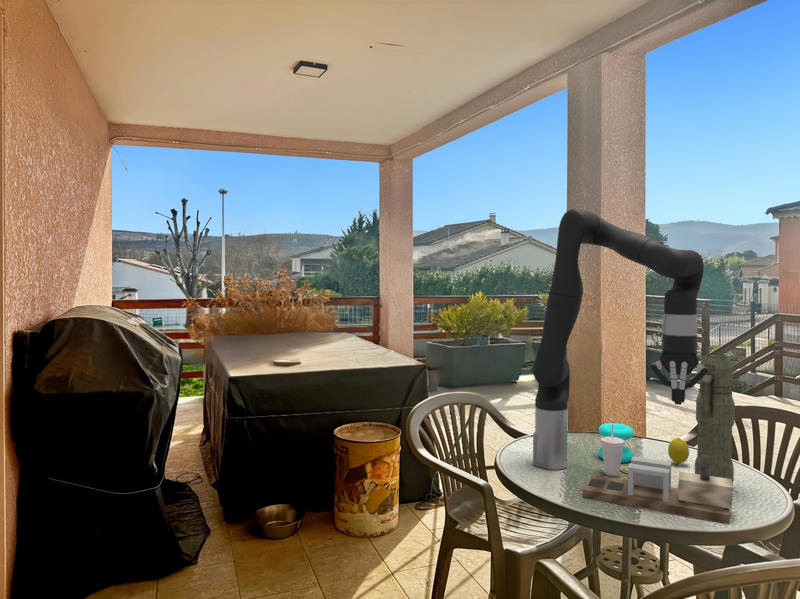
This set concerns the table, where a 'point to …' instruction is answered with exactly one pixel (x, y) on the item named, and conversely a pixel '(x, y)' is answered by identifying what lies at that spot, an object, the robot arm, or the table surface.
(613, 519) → the table surface
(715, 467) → the green stone statue
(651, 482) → the tunnel
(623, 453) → the donuts
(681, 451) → the lemon
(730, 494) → the block
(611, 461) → the smoothie
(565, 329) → the robot arm
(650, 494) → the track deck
